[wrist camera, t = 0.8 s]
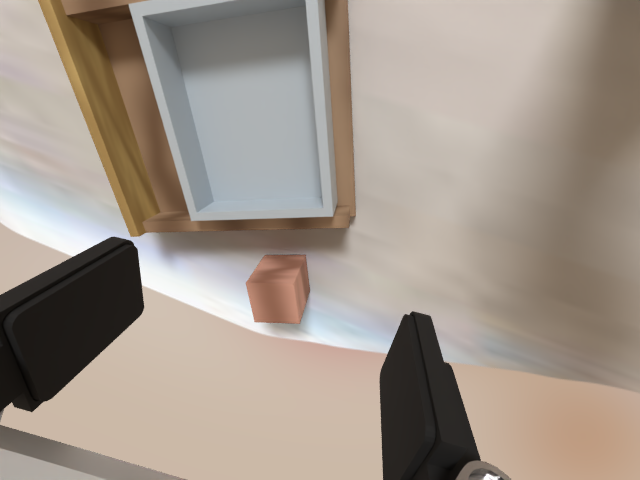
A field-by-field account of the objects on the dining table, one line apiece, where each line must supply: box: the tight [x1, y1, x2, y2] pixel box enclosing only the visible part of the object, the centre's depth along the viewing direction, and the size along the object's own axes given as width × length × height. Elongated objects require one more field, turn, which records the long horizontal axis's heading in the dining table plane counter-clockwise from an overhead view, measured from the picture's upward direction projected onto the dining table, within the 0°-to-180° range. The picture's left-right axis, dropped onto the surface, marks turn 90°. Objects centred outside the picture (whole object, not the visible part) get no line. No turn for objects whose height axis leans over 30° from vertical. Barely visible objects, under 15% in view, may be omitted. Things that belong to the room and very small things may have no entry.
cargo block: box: [246, 255, 310, 324], centre depth 32 cm, size 5×5×6 cm
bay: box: [38, 0, 356, 237], centre depth 26 cm, size 23×20×5 cm
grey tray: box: [128, 0, 338, 221], centre depth 25 cm, size 14×17×4 cm
